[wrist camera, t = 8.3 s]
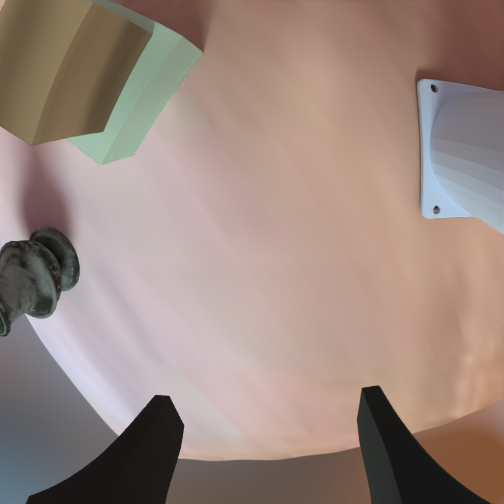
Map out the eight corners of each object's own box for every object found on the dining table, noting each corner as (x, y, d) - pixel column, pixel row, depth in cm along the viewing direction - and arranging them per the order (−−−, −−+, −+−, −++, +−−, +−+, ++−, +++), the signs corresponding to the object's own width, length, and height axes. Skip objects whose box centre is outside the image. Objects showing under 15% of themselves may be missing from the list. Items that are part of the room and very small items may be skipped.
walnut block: (153, 34, 10) (93, 2, 6) (103, 132, 12) (31, 145, 8) (77, 11, 10) (11, -11, 5) (37, 98, 12) (-34, 104, 7)
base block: (204, 53, 14) (182, 36, 10) (135, 154, 17) (100, 165, 13) (117, 7, 13) (82, -11, 9) (60, 100, 15) (19, 102, 12)
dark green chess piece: (22, 218, 19) (-95, 294, 8) (79, 228, 19) (-51, 330, 8) (33, 284, 21) (-58, 373, 10) (87, 301, 21) (-5, 415, 10)
